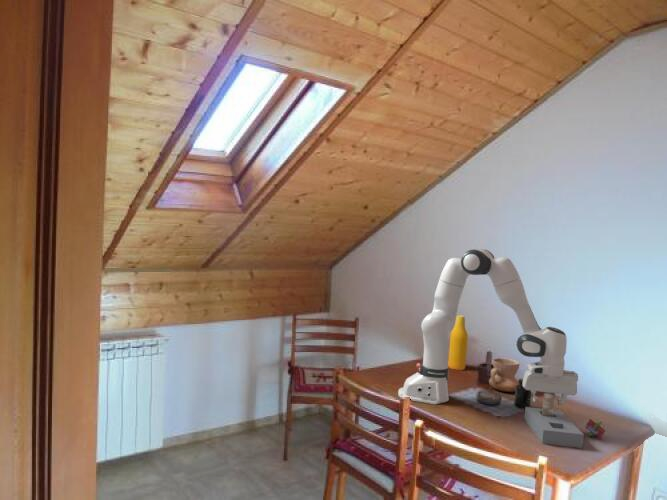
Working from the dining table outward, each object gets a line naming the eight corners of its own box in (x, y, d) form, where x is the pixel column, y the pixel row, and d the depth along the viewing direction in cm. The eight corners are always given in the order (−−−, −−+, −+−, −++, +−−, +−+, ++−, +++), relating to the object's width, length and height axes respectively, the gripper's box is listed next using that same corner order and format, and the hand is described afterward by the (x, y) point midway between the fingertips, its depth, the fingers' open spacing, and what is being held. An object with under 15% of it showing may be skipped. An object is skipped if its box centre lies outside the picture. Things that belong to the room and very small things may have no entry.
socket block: (542, 443, 184) (543, 430, 184) (524, 418, 208) (525, 406, 208) (582, 447, 183) (583, 434, 182) (559, 422, 206) (560, 410, 206)
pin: (542, 424, 199) (545, 394, 199) (539, 420, 203) (542, 391, 203) (553, 425, 199) (556, 395, 198) (550, 421, 203) (552, 392, 202)
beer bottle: (446, 364, 284) (451, 313, 283) (463, 366, 283) (468, 315, 282) (448, 369, 275) (453, 316, 274) (466, 371, 274) (470, 318, 273)
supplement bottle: (531, 410, 218) (534, 383, 218) (515, 408, 220) (517, 381, 219) (528, 405, 225) (531, 378, 225) (512, 403, 226) (515, 376, 226)
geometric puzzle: (613, 435, 191) (602, 414, 195) (603, 438, 187) (592, 417, 191) (597, 440, 196) (587, 420, 200) (587, 443, 192) (577, 422, 196)
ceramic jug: (505, 383, 256) (507, 355, 256) (528, 392, 243) (530, 363, 243) (478, 387, 248) (480, 358, 247) (501, 396, 235) (503, 366, 234)
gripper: (575, 369, 202) (571, 403, 203) (523, 363, 204) (519, 397, 205) (581, 374, 196) (577, 409, 197) (527, 368, 198) (523, 402, 199)
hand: (547, 402), depth 201 cm, fingers open, 8 cm apart
